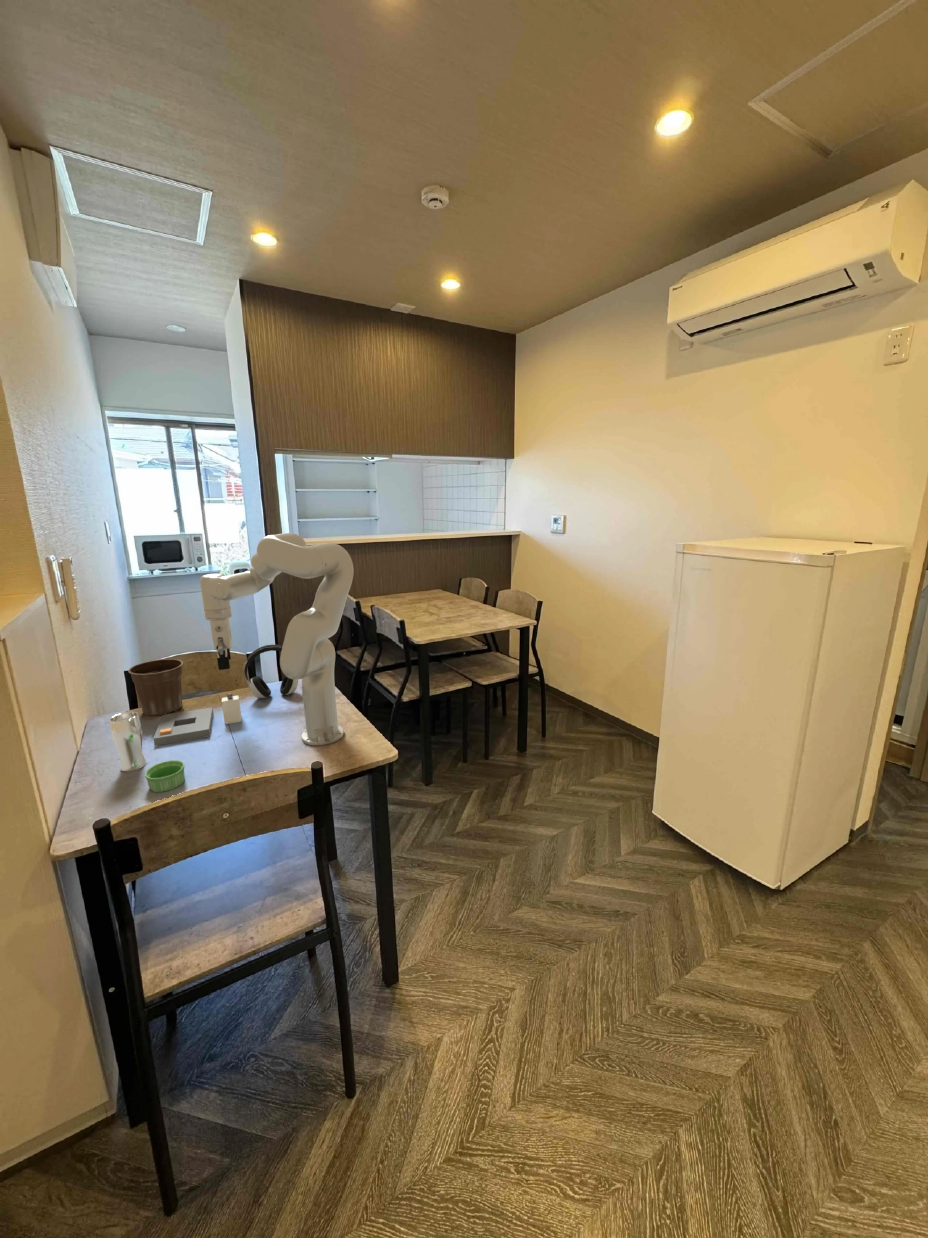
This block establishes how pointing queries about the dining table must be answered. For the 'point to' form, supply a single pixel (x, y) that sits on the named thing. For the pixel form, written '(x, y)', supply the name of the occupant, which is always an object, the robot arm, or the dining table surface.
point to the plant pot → (158, 685)
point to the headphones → (259, 685)
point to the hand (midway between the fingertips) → (225, 664)
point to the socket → (184, 726)
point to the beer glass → (128, 740)
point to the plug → (231, 709)
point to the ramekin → (165, 775)
